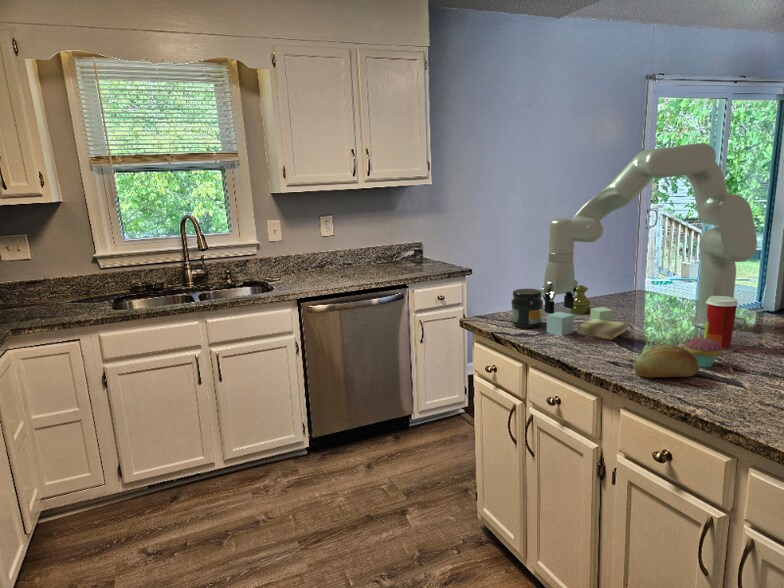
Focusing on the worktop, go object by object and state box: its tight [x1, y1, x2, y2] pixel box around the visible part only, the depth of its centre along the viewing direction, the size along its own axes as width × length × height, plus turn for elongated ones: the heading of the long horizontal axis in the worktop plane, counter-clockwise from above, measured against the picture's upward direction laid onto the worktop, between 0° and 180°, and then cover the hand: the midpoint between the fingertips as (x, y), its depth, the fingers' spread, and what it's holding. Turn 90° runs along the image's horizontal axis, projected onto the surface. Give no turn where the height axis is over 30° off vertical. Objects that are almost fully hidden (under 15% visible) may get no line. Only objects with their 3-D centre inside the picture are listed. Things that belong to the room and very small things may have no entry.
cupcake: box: [683, 319, 723, 368], centre depth 133 cm, size 9×8×12 cm
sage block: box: [589, 306, 614, 321], centre depth 174 cm, size 5×5×5 cm
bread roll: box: [633, 344, 700, 379], centre depth 127 cm, size 10×15×8 cm, turn 85°
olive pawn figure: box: [569, 284, 592, 315], centre depth 190 cm, size 7×7×10 cm
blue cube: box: [546, 311, 575, 337], centre depth 167 cm, size 6×6×6 cm
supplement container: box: [510, 288, 544, 329], centre depth 176 cm, size 10×10×12 cm
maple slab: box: [576, 318, 627, 340], centre depth 165 cm, size 11×11×3 cm
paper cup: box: [706, 296, 739, 350], centre depth 145 cm, size 8×8×14 cm
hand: (559, 310), depth 166 cm, fingers open, 9 cm apart
